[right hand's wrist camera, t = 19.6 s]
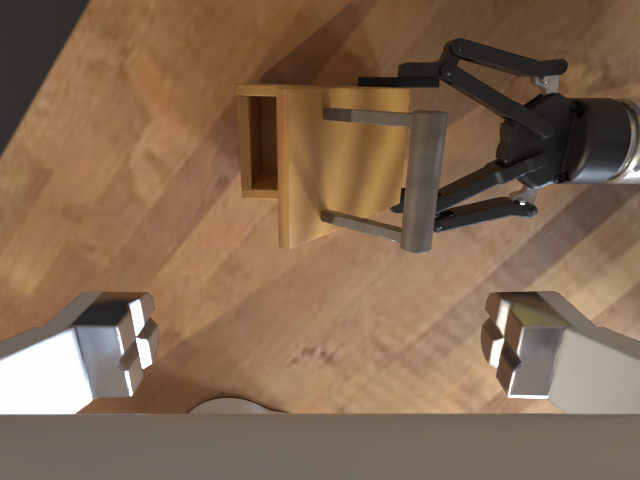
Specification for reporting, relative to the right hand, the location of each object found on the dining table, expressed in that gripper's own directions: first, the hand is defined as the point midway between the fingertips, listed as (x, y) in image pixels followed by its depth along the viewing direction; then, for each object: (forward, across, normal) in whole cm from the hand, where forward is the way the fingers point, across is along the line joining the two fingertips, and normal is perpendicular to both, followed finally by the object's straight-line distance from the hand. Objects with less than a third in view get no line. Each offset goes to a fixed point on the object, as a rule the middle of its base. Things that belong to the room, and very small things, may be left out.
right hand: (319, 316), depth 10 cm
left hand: (+29, -3, 0) cm, 29 cm away
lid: (+20, -2, 0) cm, 20 cm away
